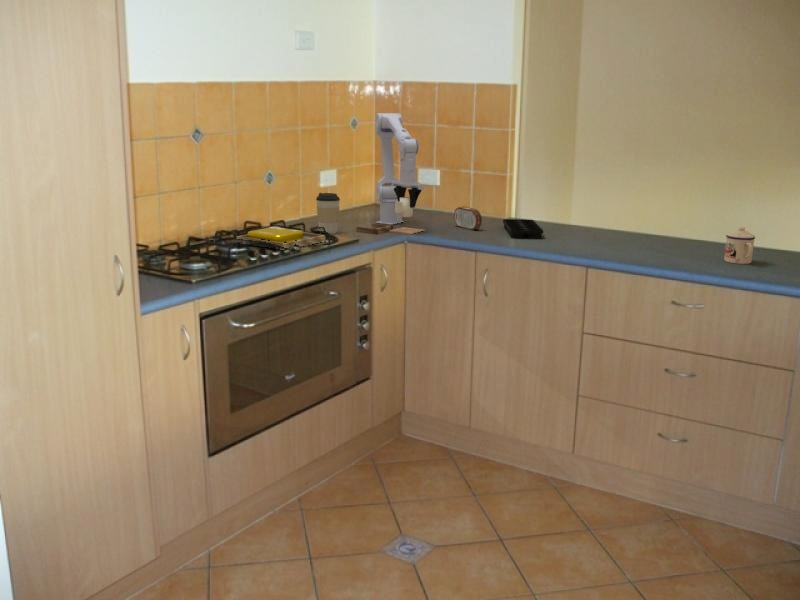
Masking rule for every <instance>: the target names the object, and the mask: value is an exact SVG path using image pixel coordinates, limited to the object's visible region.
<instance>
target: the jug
mask: <svg viewBox="0 0 800 600" xmlns="http://www.w3.org/2000/svg"><path fill="white" fill-rule="evenodd" d="M413 210H414V209H413V208H410V196H405V197H400V201H399V202H395V212H396V213H399V212H400V216H401V217H402V218H411V217H413V215H414V214H413V213H414V211H413Z"/></svg>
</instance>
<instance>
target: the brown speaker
mask: <svg viewBox="0 0 800 600" xmlns="http://www.w3.org/2000/svg"><path fill="white" fill-rule="evenodd" d="M453 215H454V216H453V218H454V223H455V224H456V226H457V227H459V226H460V227H459V228H461V227H463V229H466V228H467V230H469V229H471V230H470V231H474V230H475V229H477V230H479V229H480V228H481V226H482V223H483V219H482V214H481V213H480V210H478V209H476V208H473V207H470V206H469V207H468V206H464V205H462V206H459V207H457V208H455V210H454V214H453ZM475 231H476V230H475Z"/></svg>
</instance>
